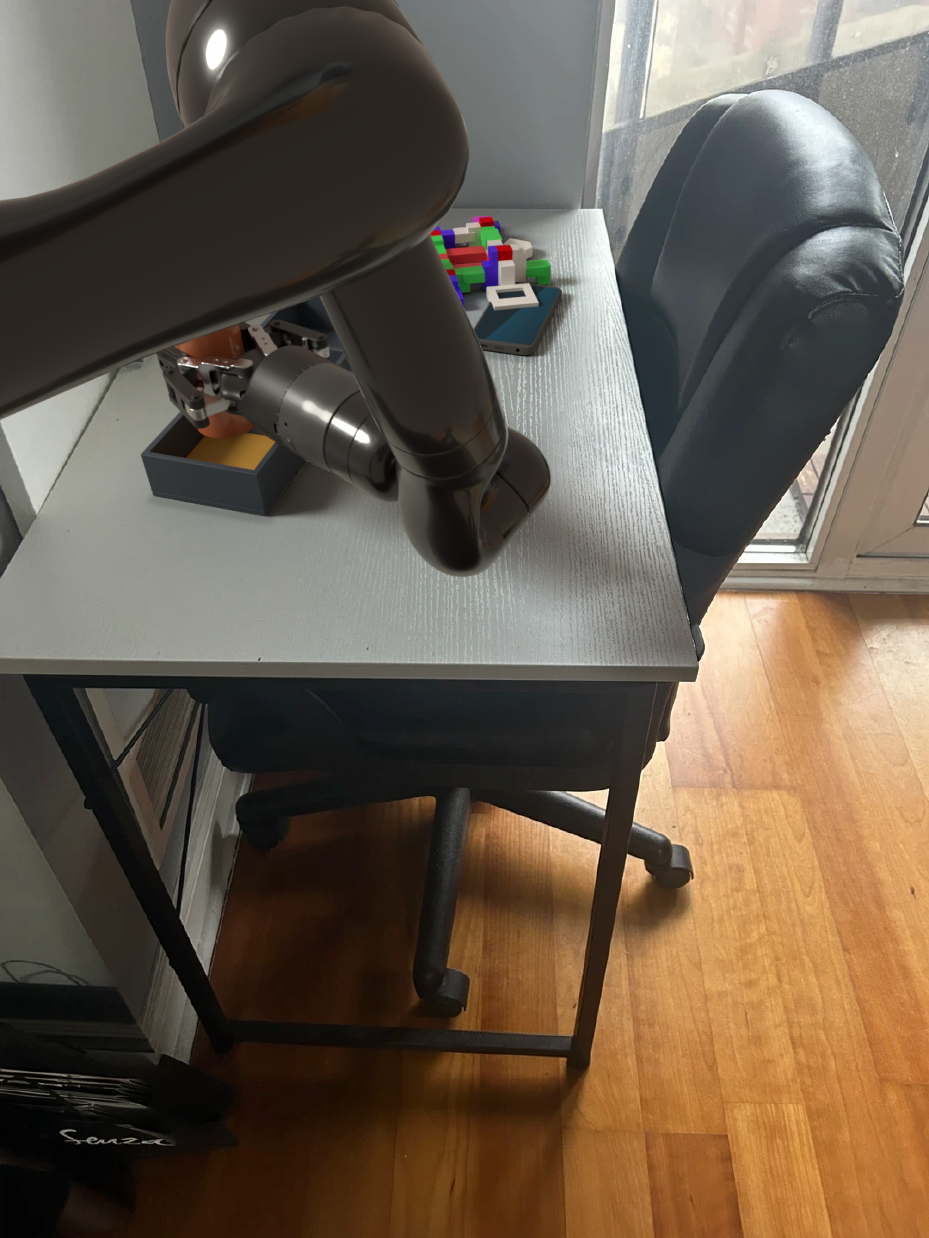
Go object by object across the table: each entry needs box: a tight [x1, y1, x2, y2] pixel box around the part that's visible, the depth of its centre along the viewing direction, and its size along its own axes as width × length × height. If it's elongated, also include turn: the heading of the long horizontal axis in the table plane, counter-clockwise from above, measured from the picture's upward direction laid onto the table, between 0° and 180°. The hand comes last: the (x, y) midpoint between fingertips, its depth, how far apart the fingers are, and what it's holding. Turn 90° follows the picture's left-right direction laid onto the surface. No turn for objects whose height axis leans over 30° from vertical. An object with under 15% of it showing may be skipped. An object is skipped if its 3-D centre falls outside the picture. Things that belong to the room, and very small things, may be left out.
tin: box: [175, 324, 254, 438], centre depth 80 cm, size 6×6×12 cm
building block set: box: [430, 215, 552, 310], centre depth 114 cm, size 25×20×4 cm
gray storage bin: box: [140, 297, 352, 517], centre depth 93 cm, size 32×11×4 cm, turn 163°
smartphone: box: [473, 282, 563, 356], centre depth 107 cm, size 8×15×1 cm, turn 163°
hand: (193, 340), depth 80 cm, fingers closed on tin, 5 cm apart
